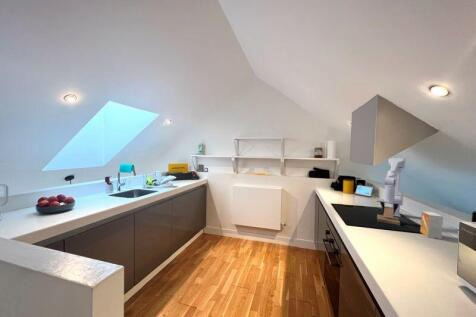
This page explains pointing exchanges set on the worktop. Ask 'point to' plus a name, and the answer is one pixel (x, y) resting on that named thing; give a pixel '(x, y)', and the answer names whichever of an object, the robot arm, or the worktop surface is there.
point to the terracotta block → (388, 211)
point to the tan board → (388, 219)
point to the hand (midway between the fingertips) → (388, 213)
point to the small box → (431, 224)
